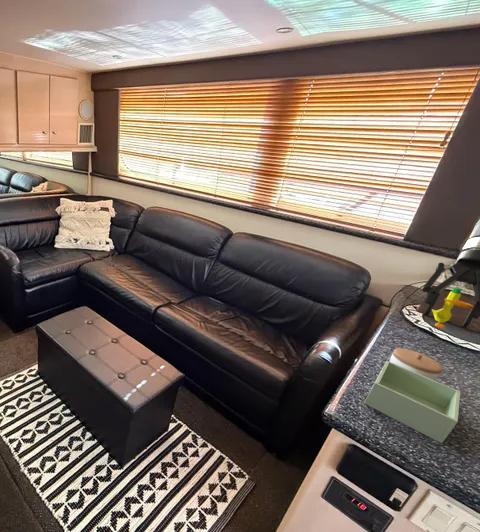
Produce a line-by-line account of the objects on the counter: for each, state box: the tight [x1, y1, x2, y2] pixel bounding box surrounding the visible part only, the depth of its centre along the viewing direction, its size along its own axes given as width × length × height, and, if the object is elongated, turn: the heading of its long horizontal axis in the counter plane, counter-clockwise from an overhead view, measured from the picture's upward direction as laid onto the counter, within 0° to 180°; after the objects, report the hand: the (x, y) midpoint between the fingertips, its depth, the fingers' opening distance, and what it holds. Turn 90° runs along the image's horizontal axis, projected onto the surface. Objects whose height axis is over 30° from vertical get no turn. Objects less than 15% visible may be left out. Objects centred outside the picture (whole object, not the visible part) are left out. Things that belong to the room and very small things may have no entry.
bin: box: [363, 360, 461, 444], centre depth 85 cm, size 15×17×7 cm
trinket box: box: [388, 347, 444, 381], centre depth 96 cm, size 11×11×9 cm
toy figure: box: [431, 287, 474, 330], centre depth 90 cm, size 7×4×12 cm, turn 38°
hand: (445, 319), depth 88 cm, fingers closed on toy figure, 7 cm apart
